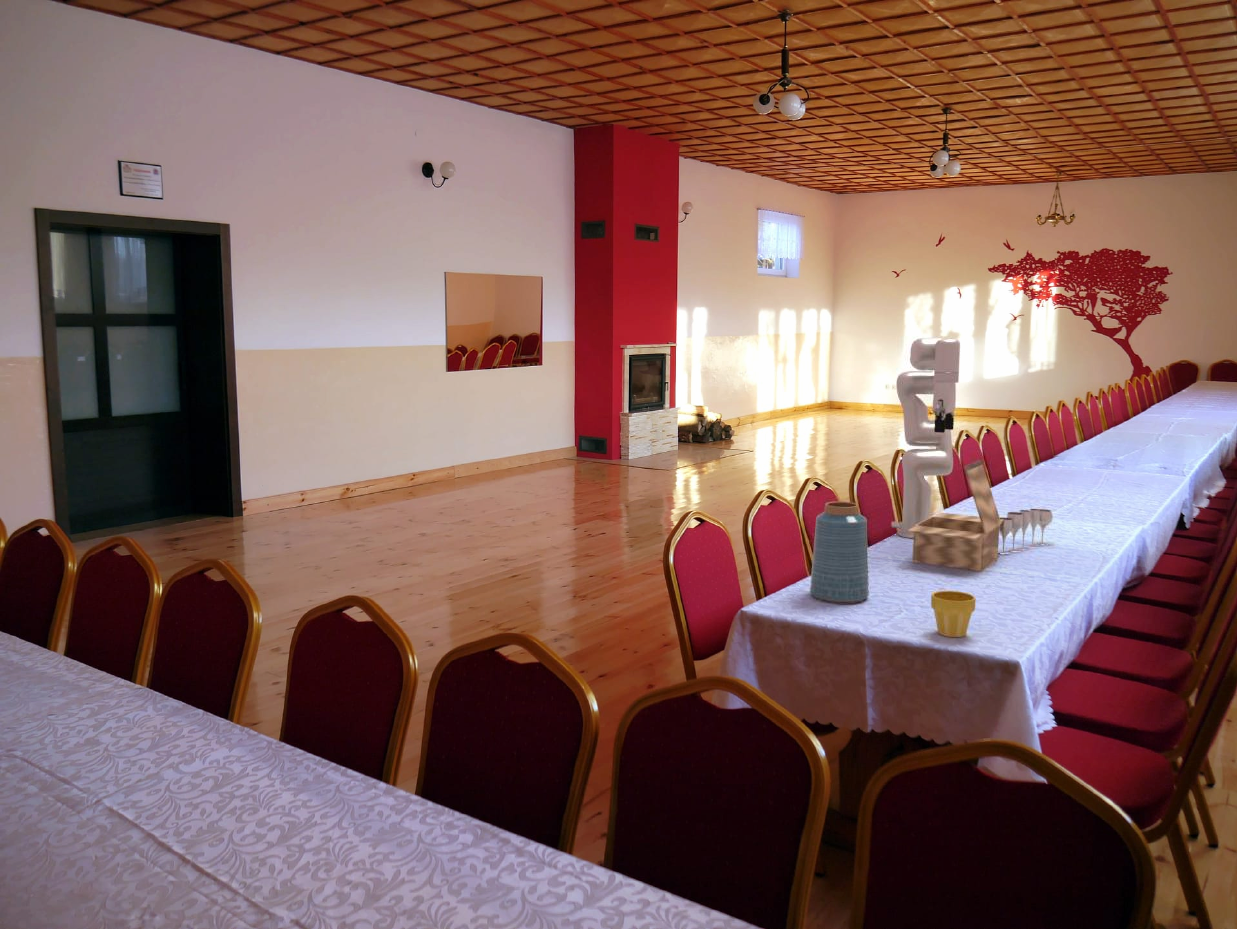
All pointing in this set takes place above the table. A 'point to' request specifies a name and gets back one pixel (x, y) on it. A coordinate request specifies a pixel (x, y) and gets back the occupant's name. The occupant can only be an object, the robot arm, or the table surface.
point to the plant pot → (952, 612)
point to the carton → (955, 542)
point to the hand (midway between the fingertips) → (943, 430)
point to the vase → (840, 555)
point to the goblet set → (1024, 524)
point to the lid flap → (982, 496)
